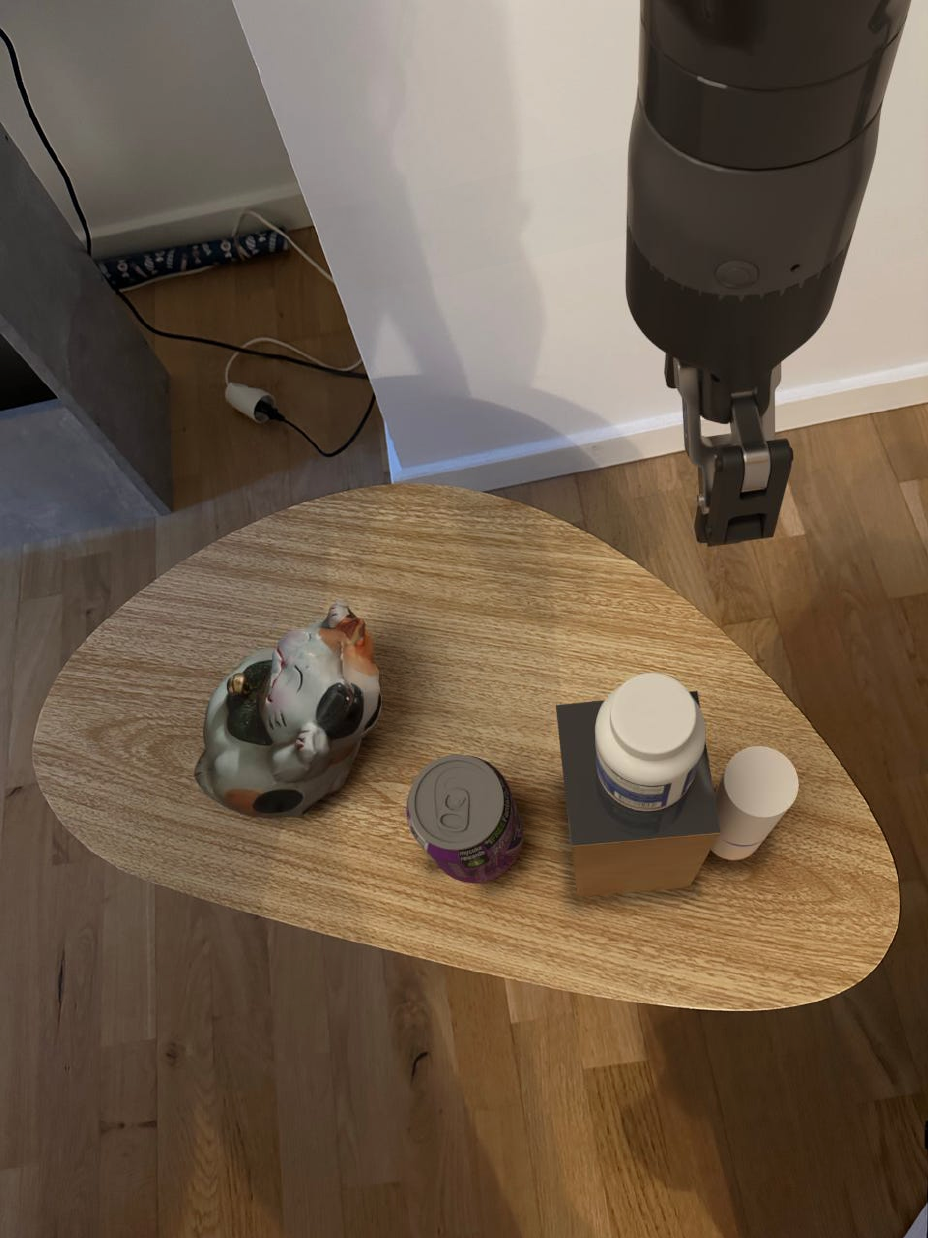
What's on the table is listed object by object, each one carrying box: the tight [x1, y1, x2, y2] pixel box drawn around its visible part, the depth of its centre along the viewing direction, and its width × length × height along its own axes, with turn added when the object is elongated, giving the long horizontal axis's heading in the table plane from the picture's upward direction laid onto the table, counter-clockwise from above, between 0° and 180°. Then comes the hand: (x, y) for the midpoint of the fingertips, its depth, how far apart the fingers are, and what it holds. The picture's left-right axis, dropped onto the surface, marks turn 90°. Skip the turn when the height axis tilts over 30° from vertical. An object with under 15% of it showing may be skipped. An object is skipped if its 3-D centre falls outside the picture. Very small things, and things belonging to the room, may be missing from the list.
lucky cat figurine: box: [193, 598, 383, 819], centre depth 76 cm, size 15×12×14 cm
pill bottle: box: [595, 672, 707, 811], centre depth 53 cm, size 5×5×10 cm
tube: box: [710, 745, 800, 861], centre depth 68 cm, size 4×4×15 cm
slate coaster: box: [555, 690, 720, 848], centre depth 57 cm, size 8×8×1 cm
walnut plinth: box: [570, 834, 719, 898], centre depth 67 cm, size 8×8×20 cm
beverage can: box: [405, 753, 524, 884], centre depth 72 cm, size 7×7×12 cm
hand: (702, 454), depth 49 cm, fingers open, 8 cm apart
